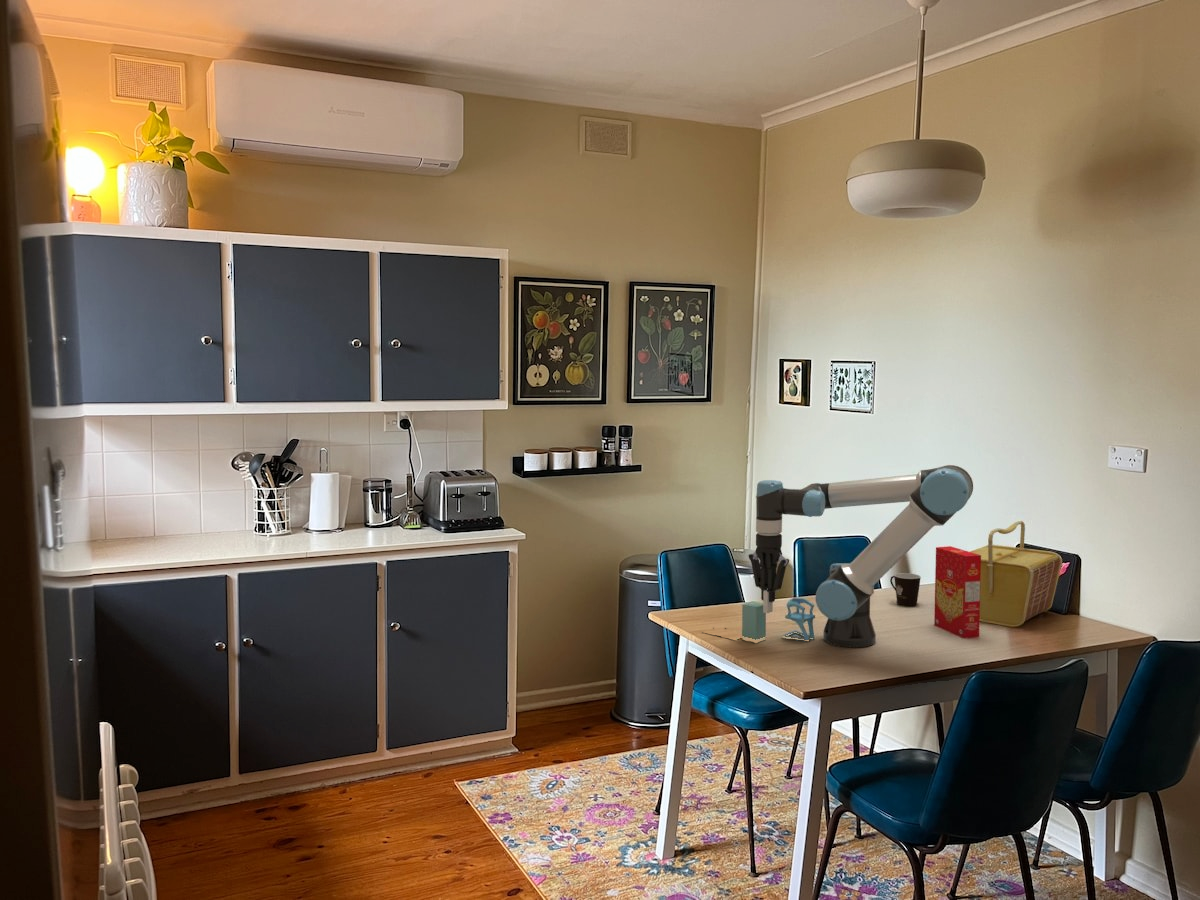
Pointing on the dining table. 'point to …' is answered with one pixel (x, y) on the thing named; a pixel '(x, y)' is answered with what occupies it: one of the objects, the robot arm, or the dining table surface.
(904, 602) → the coffee mug
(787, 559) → the robot arm
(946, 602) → the food packaging
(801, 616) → the chair
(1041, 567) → the picnic basket
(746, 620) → the teal block
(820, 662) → the dining table surface
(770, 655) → the dining table surface
